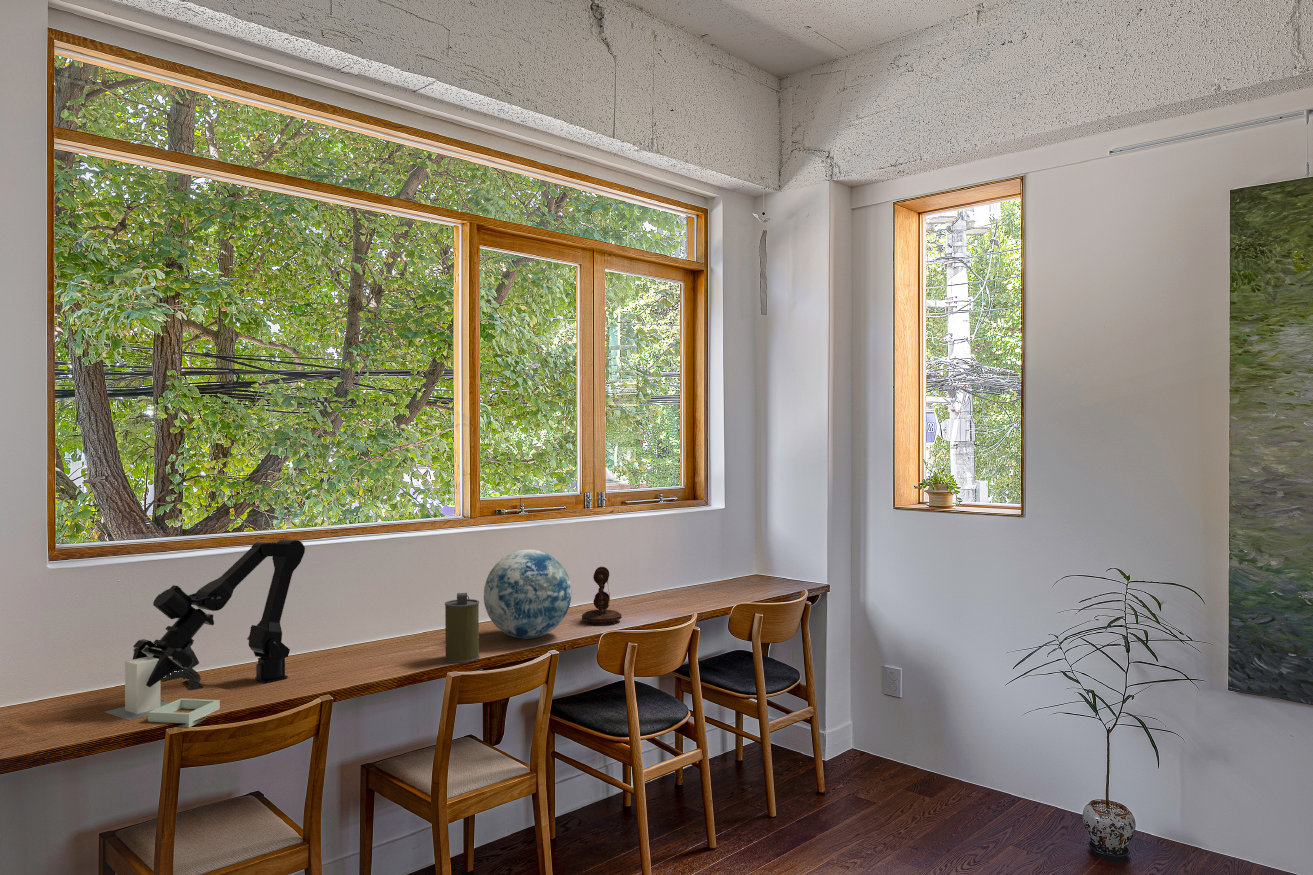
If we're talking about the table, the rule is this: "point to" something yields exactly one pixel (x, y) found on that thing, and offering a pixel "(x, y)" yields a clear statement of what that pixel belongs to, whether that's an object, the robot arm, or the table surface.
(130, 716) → the coaster
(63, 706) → the table surface
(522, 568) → the globe
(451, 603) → the canister
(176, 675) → the hairbrush
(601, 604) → the dark pedestal ornament
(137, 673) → the white block
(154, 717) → the tray
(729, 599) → the table surface
